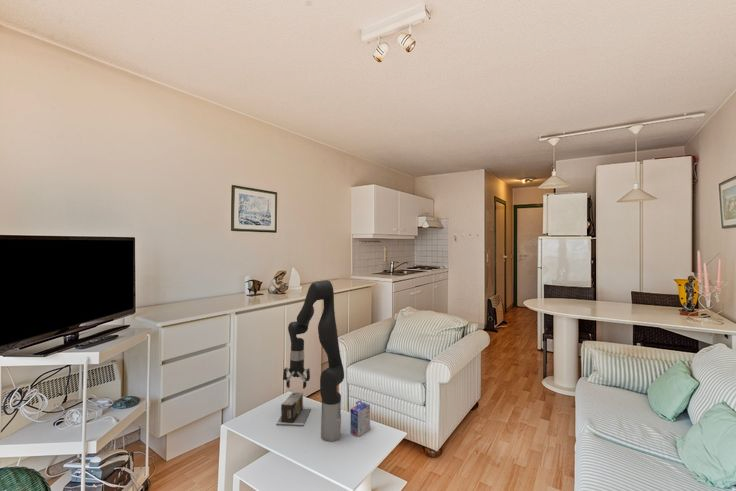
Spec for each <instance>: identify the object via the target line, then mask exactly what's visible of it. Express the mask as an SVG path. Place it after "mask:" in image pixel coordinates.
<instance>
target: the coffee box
mask: <svg viewBox="0 0 736 491" xmlns="http://www.w3.org/2000/svg"><path fill="white" fill-rule="evenodd" d="M280 407H281V411H280V412H281V413H280V414H281V415H280V417H281V422H286V423H293V422H294V420H295V419H296V417H297V416H298V415H299V413H300V412H301V410H302V409H303V408H304V393H303V392H301V391H300V392H298V391H292V392H291V394H289V396H288V397H287V398H286V399H285V400H284V401H283V403H282V404H281V405H280Z"/></svg>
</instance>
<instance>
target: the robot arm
mask: <svg viewBox="0 0 736 491" xmlns="http://www.w3.org/2000/svg"><path fill="white" fill-rule="evenodd" d="M334 295H335V294H334V286H333V283H332V282H331V281H330V280H319V281H313V282H312V283H311V284H310V286H308V290H307V293H306V296H305V299H304V302H303V305H302V307H301V308H300V309H301V310H300V311H299V313H298V314H297V317H296V321H290V323H289V324H288V326H287V331H288V334H289V340H290V353H289V367H284V369H283V375H282V380H283V381H286V382H285V383H286V388H287V389H289V388H290V386H291V384H290V383H291V380H290V379H291V378H292V377H293V378H300V379H301V380H302V381H303V382H302V383H303V384H302V389H304V390H305V388H306V387H307V382H309V381H310V379H311V372H310V370H311V369H310V367H309V368H308V367H307V368H305V339H303V338H302V337H297V335H302V334H305V333H307V332H308V330H309V324H310V321H311V320H312V318H313V316H314V313H315V307H314V304H315V303H316V302H317V301H321V300H323V311H322V314H321V316H320V318H319V321H318V324H317V331H318V333H317V334H318V340H319V343H320V345H321V347H322V349H323V350H324V352H325V354H326V356H327V362H328V367H327V368H326V369H324V370H322V371H321V374H320V379H319V391H320V392H319V393H320V397H321V414H320V415H321V417H320V418H321V419H320V425H321V426H320V438H321V439H322V441H325V442H336V441H340V438H341V434H342V432H341V431H342V413H341V412H342V411H341V409H342V394H341V393H340V392H338V385H340V384H341V383H343V381H344V380H345V371H344V366H343V361H342V357H341V352H340V351H341V350H340V344H339V338H338V337H339V335H338V329H337V321H336V312H335V311H336V310H335V296H334ZM288 372H289V373H290V374H289V376H288V375H287V374H288ZM304 373H305V374H306V376H305V374H304Z"/></svg>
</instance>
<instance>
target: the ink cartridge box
mask: <svg viewBox="0 0 736 491" xmlns="http://www.w3.org/2000/svg"><path fill="white" fill-rule="evenodd" d="M355 404H356V405H355V406H353V407H352V408H350V434H351V435H353V436H355V437H356V438H358V437H360V436H361V435H363V434H365V433H367V432H368V431H370V430H371V404H368V403H366V402H364V401H362V400H361V399H359V400H357V401H356V402H355Z"/></svg>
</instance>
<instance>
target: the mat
mask: <svg viewBox="0 0 736 491" xmlns="http://www.w3.org/2000/svg"><path fill="white" fill-rule="evenodd" d="M311 410H312V407H303V409H302V410H301V412H300V413H299V415H298V416H297V417H296V419H295V420H294V422H293V423H286V422H281V416H280V417H279V419H278V420H277V421H276V426H281V427H282V426H285V427H304V426H305V424H306V422H307V420H308V417H309V416H310V413H311Z"/></svg>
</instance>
